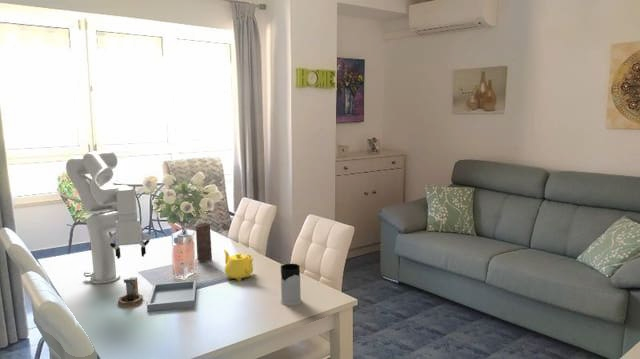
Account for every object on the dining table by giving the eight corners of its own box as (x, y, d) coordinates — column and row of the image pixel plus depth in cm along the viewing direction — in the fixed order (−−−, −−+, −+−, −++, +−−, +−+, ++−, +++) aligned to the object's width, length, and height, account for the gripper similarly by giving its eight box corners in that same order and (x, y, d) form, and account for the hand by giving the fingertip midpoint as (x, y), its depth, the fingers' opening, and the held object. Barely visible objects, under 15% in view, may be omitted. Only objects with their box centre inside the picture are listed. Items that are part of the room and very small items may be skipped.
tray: (147, 312, 188) (146, 304, 188) (154, 290, 210) (153, 284, 209) (194, 307, 192) (194, 300, 192) (196, 286, 213) (196, 280, 213)
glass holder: (285, 307, 191) (284, 271, 189) (272, 295, 203) (271, 261, 201) (305, 303, 195) (304, 268, 192) (291, 291, 207) (290, 258, 205)
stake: (123, 305, 194) (121, 281, 193) (125, 300, 199) (123, 277, 198) (136, 304, 195) (134, 280, 194) (138, 299, 200) (136, 276, 199)
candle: (208, 263, 243) (206, 225, 240) (194, 263, 245) (192, 225, 241) (214, 258, 251) (212, 221, 247) (201, 258, 252) (199, 221, 249)
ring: (116, 308, 192) (115, 291, 191) (123, 293, 206) (122, 278, 205) (140, 306, 194) (139, 289, 193) (145, 291, 208) (144, 276, 207)
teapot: (267, 276, 225) (266, 253, 223) (244, 286, 213) (243, 261, 212) (237, 267, 237) (236, 245, 235) (214, 276, 225) (213, 253, 224)
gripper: (103, 220, 194) (107, 261, 196) (148, 217, 197) (151, 257, 200) (107, 216, 201) (111, 255, 204) (150, 213, 205) (153, 252, 207)
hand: (131, 256), depth 202 cm, fingers open, 9 cm apart
